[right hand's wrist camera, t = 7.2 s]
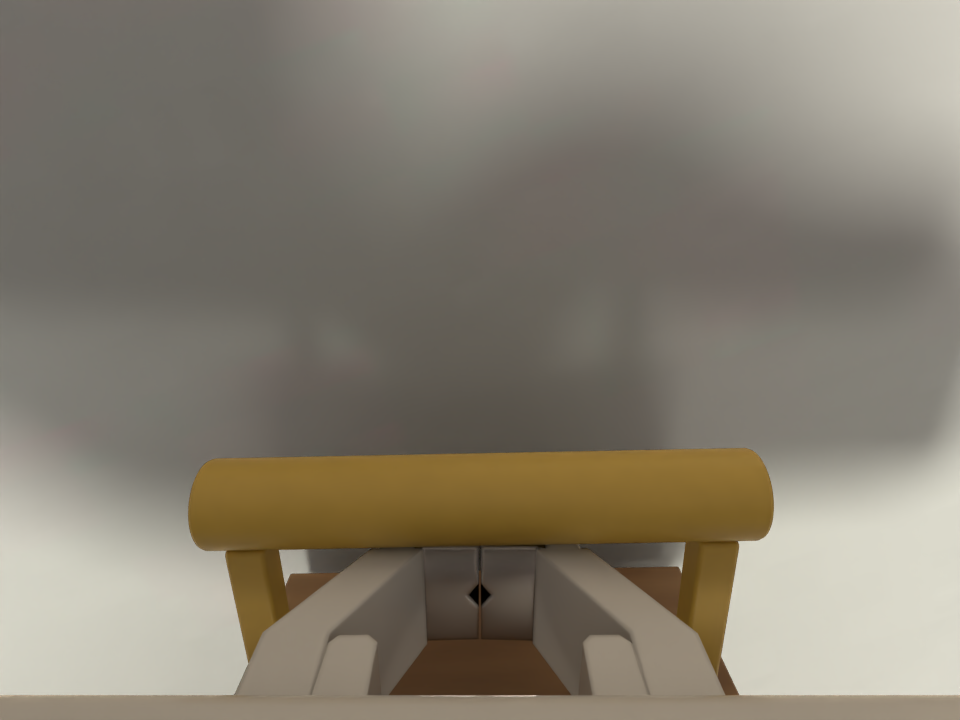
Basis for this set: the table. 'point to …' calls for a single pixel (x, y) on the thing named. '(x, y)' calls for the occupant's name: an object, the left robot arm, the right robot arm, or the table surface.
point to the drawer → (486, 534)
